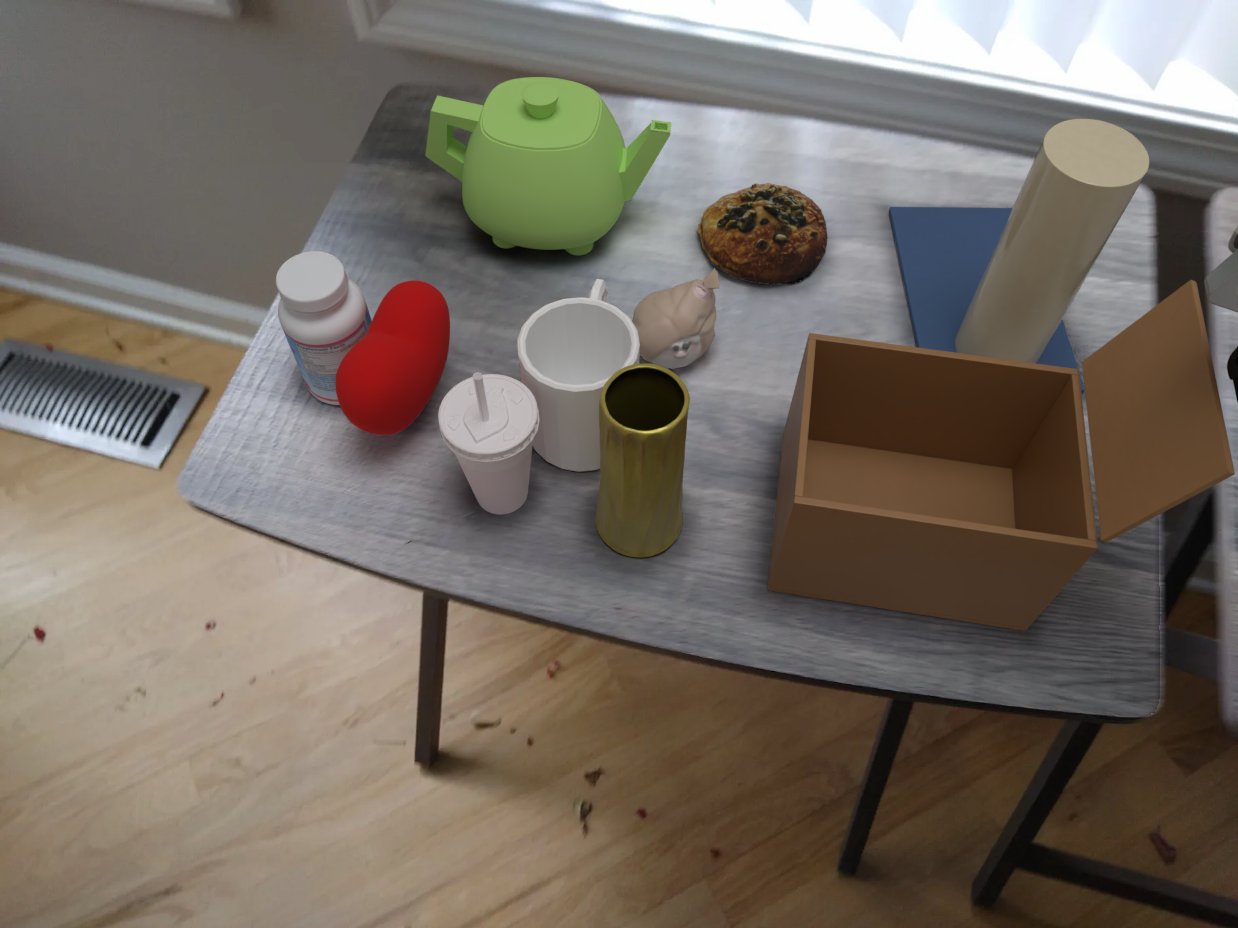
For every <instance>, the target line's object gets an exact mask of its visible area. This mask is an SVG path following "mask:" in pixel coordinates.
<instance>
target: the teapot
mask: <svg viewBox="0 0 1238 928" xmlns="http://www.w3.org/2000/svg"><path fill="white" fill-rule="evenodd" d="M454 128H457V129H461V130H465V131H468V132H471V133H470V135H469V137H468V138H469V139H468V142H467V144H466V145H465V144H463V143H462V142H461V141H459V140H458V139H456V138H454ZM671 131H672V122H671V121H666V120H665V121H663V120H658V119H657V120H656V119H651V121H650V123H649V124H648V125H647V126H646V127H645V128H644V129H643V130H642V131H641V133H639V134H638V136H636V137H635V139H633V141H632V142H631V143H630V144H629V145H628V146H627V147H626V143H625V139H624V137H623V134H622V131H621V129H620V127H619V125H618V123H617V120H616V119H615V117H614V116H613V113H612V112H611V110H610V109H609V106H608V105H607V103H606V102H605V101H604V100H603V98H602V96H601V95H600V94H599V93H598V92H597V91H596V90H595V89H594V88H591V87H590V86H587V85H585V84H583V83H580V82H576V81H573V80H568V79H564V78H559V77H557V78H556V77H549V76H531V77H530V76H529V77H519V78H513V79H509V80H505V81H503V82H501V83H499V84H498V85H496V86H495V87H494V88H492V90H491V91H490V92H489V94H488V96H487V98H486V99H485V102H484V104H478V103H474V102H468V101H464V100H459V99H456V98H451V97H446V96H441V95H436V98H435V99H434V102H433V105H432V107H431V109H430V114H429V122H428V129H427V138H426V144H425V145H426V147H425V155H424V156H425V158H427V159H428V160H430V161H431V162H433V163H434V164H435V165H437V166H439V167H440V168H441V169H443V170H444V171H446V172H447V173H449V174H450V175H452V176H453V177H454V178H455V179H457V180H458V181H460V182H461V191H462V192H461V197H462V204H463V208H464V210H465V212H466V214H467V216H468V218H469V219H470V220H471V221H472V222H473V224H474V225H475V226H477V227H478V228H479V229H481V231H483V232H484V233H486V234H487V235H489V236H491V237H492V242H493V244H494V245H495V246H497V247H499V248H502V249H512V248H515V247H521V248H526V249H533V250H545V251H547V250H551V251H553V250H565V251H566V252H567V253H568V254H570V255H573V256H583V255H587V254H589V253H590V252H591V251H592V250H593V249H594V242H596V241H598V240H600V239H601V238H602V237H603V236H604V235H606V234H607V233H608V232H610V230H611V229H612V228H613V226H614V225H615V224H616V223H617V222H618V220H619V218H620V217H621V214H622V211H623V209H624V206H625V203H626V202H630V201H632V200H633V198H634V196H635V195H636V193H637V192H638V190H639V188H640V187H641V185H642V183H643V182H644V180H645V178H646V177H647V175H648V173H649V171H650V170H651V168H652V166H653V165H654V163H655V161H656V160H657V158H658V156H659V155H660V154H661V152H662V150H663V149H664V147H665V144H666V143H667V142H668V140H669V138H670V136H671V133H672V132H671Z"/></svg>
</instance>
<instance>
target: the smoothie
mask: <svg viewBox="0 0 1238 928" xmlns="http://www.w3.org/2000/svg"><path fill="white" fill-rule="evenodd" d="M437 417H438V418H437V419H438V425H439V433H440V435H441V438H442V440H443V443H445V444H446V446H447V447H448V449H450V451H451V452H453V453H454V455H455V457H456V459H457V461H458V463H459V465H460V467H461V470H462V472H463V474H464V476H465V477H466V480H467V482H468V484H469V486H470V489H471V490H472V493H473V494H474V497H475V499H476V501H477V503H478V504H479V506H480V507H481V508H482V509H483V510H484V511H486V512H488V513H490V514H493V515H498V516H499V515H502V516H503V515H509V514H512V513H514V512H516V511H517V510H519V509H520V508H521V507H522V506H523V505H524V504H525V503H526V501H527V499H528V494H529V486H530V485H529V483H530V476H531V475H530V474H531V463H532V454H533V445H532V444H533V438H534V436H535V435H536V433H537V431H538V426H539V421H540V418H539V411H538V408H537V403H536V400H535V397H534V395H533V394H532V392H531V391H530V390H529V389H528V388H527V387H526V386H525V385H524V384H523V383H522V381H521V380H518V379H516V378H514V377H511V376H509V375H504V374H499V373H484V374H482V372H474V373H473V375H472V376H471V377H468V378H466V379H464V380H462V381H460V382H459V383H457V384H455V385H454V386H453V387H452V388H451V389H450V390H449V391H447V393H446V395H444V397H443V399H442V401H441V403H440V405H439V409H438V413H437Z"/></svg>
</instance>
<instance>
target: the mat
mask: <svg viewBox="0 0 1238 928" xmlns="http://www.w3.org/2000/svg"><path fill="white" fill-rule="evenodd" d="M1012 208H1013V207H961V206H960V207H957V206H956V207H953V206H952V207H949V206H948V207H946V206H945V207H944V206H942V207H941V206H890V207H889V209H888V215H889V221H890V226H891V230H892V236H893V239H894V244H895V249H896V254H897V259H898V265H899V269H900V273H901V278H902V279H901V280H902V284H903V288H904V293H905V297H906V298H905V299H906V302H907V308H908V313H909V317H910V322H911V327H912V331H913V332H912V333H913V337H914V341H915V347H918V348H925V349H932V350H940V351H947V352H955V353H957V351H956V348H955V337H956V334H957V331H958V329H959V327H960V325H961V322H962V320H963V318H964V316H965V313H966V311H967V309H968V307H969V305H970V302H971V300H972V298H973V296H974V293H975V291H976V289H977V287H978V284H979V282H980V280H981V278H982V275H983V273H984V271H985V269H986V267H987V264H988V262H989V260H990V258H991V255H992V253H993V251H994V249H995V246H996V244H997V242H998V240H999V237H1000V235H1001V233H1002V231H1003V229H1004V226H1005V224H1006V222H1007V220H1008V217H1009V215H1010V213H1011V211H1012ZM1037 364H1044V365H1051V366H1058V367H1066V368H1073V369H1079V367H1078V363H1077V361H1076V358H1075V354H1074V351H1073V347H1072V345H1071V342H1070V338H1069V335H1068V331H1067V329H1066V326H1065V322H1064V319H1062V321H1061V322H1060V324H1059V326H1058V328H1057V329H1056V331H1055V333H1054V335H1053V336H1052V338H1051V340H1050V342H1049V343H1048V345H1047V347H1046V349H1045V350H1044V352H1043V354H1042V355H1041V357H1040V359H1039V361H1038V362H1037ZM1079 376H1080V385H1081V394H1082V395H1083V394H1084V393H1085V387H1084V381H1083V380H1082V379H1083V378H1082V376H1081V373H1080V372H1079Z"/></svg>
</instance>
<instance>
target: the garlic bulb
mask: <svg viewBox="0 0 1238 928" xmlns="http://www.w3.org/2000/svg"><path fill="white" fill-rule="evenodd" d="M718 273H719V272H718V270H716V268H713V269H712V270H711V271H709V273H707V275H706V276H705V277H704V278H703V279H700V278H699V279H693V280H690V281H685V282H683V283H679V284H676V285H675V286H674V287H670V288H664V289H660V290H656V291H653V292H651V293H649V294H647V295H646V296H645V297H643V299H642V300H641V301H639V303H638V304H637V305H636V306H635V308H634V310H633V315H632V319H631V321H632V322H633V324H634V326H635V327H636V329H637V331H638V337H639V343H640V355H639V356H640V357H641V358H642V359H643V360H645V361H646V362H647V361H648V362H649V363H651V364H655V365H659V366H663V367H665V368H667V369H679V368H683V367H686V366H688V365H690V364H692V363H693V362H695V361H696V359H698V358H700V357H701V356H703V355H705V353H706V352H707V351H708V349H709V348H710V347H711V345H712V343H713V340H714V338H715V335H716V330H715V323H716V320H717V307H716V294H715V291H714V290H717V289H720V282H719V274H718Z"/></svg>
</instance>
